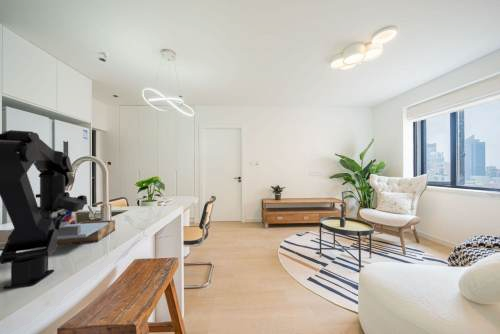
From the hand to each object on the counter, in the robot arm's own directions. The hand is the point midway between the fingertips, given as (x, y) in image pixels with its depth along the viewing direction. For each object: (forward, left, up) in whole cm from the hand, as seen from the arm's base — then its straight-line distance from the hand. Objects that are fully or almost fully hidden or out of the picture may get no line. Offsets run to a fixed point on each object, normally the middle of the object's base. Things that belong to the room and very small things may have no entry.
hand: (52, 236), depth 61 cm
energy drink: (+29, +14, -7) cm, 33 cm away
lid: (+11, 0, -2) cm, 11 cm away
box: (+19, 0, -7) cm, 20 cm away
